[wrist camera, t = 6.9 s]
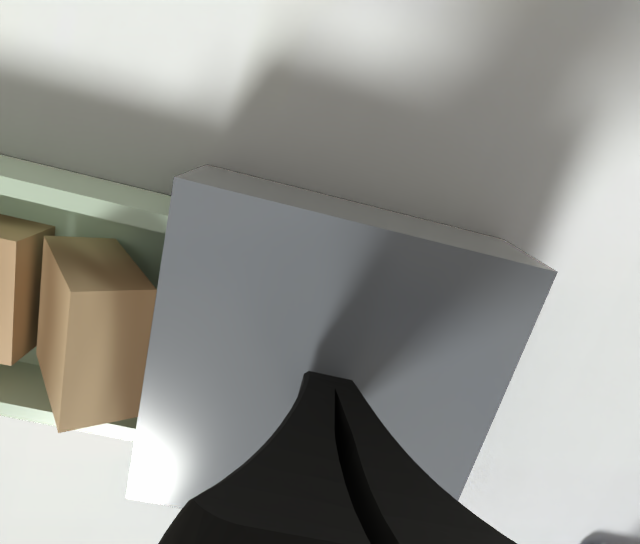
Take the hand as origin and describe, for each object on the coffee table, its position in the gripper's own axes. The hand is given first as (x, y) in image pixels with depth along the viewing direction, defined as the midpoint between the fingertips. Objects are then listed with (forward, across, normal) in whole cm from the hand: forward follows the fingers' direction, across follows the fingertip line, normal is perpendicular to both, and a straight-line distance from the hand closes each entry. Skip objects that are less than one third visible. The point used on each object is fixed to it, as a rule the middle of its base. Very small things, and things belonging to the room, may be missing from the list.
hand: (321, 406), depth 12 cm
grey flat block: (+4, 0, 0) cm, 4 cm away
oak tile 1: (+2, +6, 0) cm, 6 cm away
